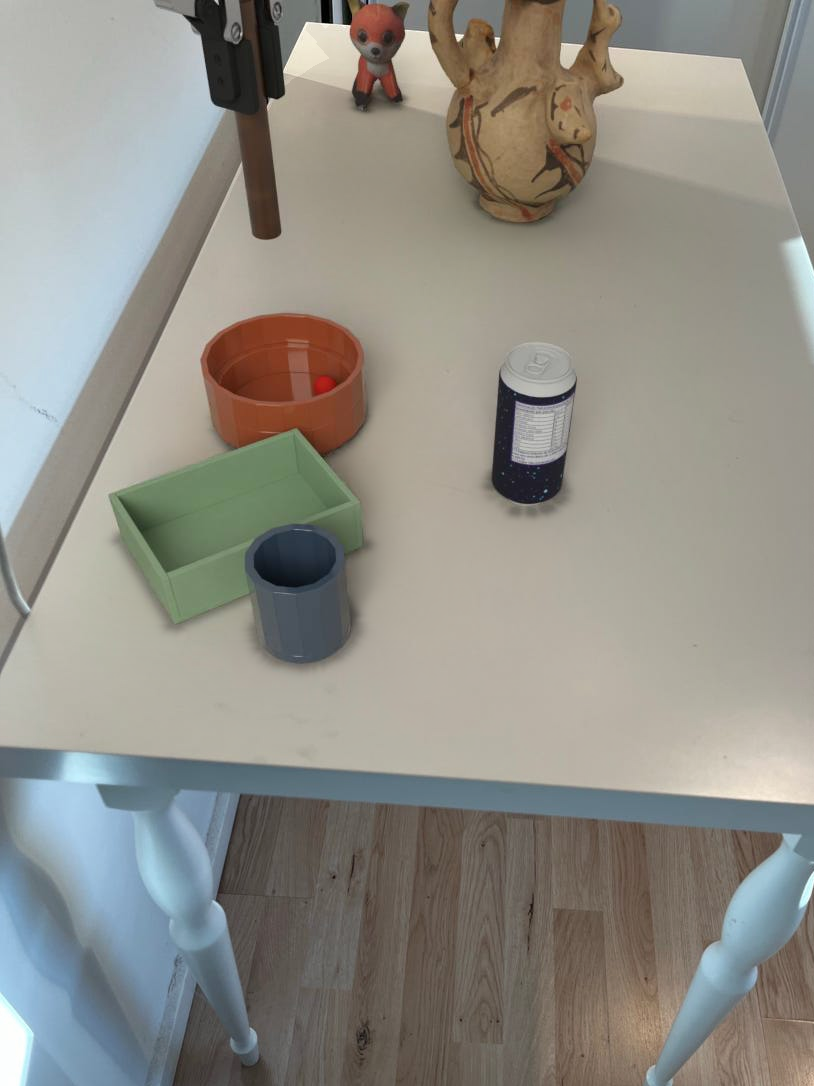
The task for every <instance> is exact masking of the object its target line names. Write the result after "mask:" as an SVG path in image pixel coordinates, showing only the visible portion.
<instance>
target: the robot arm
mask: <svg viewBox="0 0 814 1086" xmlns="http://www.w3.org/2000/svg"><path fill="white" fill-rule="evenodd" d="M254 2H255V10H256V19H257V27H258V36H259V44H260V53H261V61H262V69H263V78H264V86H265V95H266V98H269V99H273V100H280V99H282V98H283V97H285V95H286V87H285V85H286V84H285V75H284V66H283V55H282V48H281V38H280V37H281V36H280V30H279V29H280V28H279V25H277V24H279V23H280V22H281V21H282V19H283V16H284V1H283V0H254ZM153 3H154V5H155V7H156V8H157V9H160V10H164V11H168V12H172V13H174V14H175V13H176V14H180V15H182V16H183V18H185V20H186V21H187V22H188V23H189V25H190V28H191V31H192V33H193V34H194V35H197V36H200V41H201V46H202V53H203V59H204V65H205V72H206V78H207V84H208V91H209V96H210V101H211V103H212V104H213V105H214V106H216V107H218V108H221V109H226V110H229V111H233V112H235V111H236V112H240V113H244V114H247V115H253V114H255V113H257V112H258V111H259V98H258V90H257V82H256V74H255V65H254V57H253V49H252V44H251V40H248V39H244V38H242V36H243V27H242V19H241V11H240V3H239V0H217V1H216V0H153Z"/></svg>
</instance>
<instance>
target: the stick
mask: <svg viewBox="0 0 814 1086" xmlns="http://www.w3.org/2000/svg"><path fill="white" fill-rule="evenodd" d="M239 3H240V11H241V19H242V27H243V36H242V38H244V39H248V40H251V44H252V49H253V57H254V65H255V74H256V82H257V90H258V98H259V111H258V112H257V113H255V114H253V115H247V114H244V113H240V112H236V111H234V119H235V125H236V132H237V138H238V146H239V151H240V152H239V153H240V159H241V167H242V173H243V179H244V181H243V182H244V188H245V195H246V200H247V208H248V215H249V223H250V229H251V234H252V236H253V237H254V238H255V239H258V240H262V241H270V240H275V239H277V238H279V237H280V236H281V235H282V231H283V229H282V224H281V223H282V222H281V217H280V216H281V215H280V206H279V198H278V197H279V196H278V189H277V181H276V173H275V172H276V171H275V164H274V155H273V147H272V139H271V137H272V136H271V131H270V122H269V114H268V113H269V112H268V105H267V97H266V95H265V86H264V78H263V69H262V61H261V53H260V44H259V36H258V27H257V19H256V10H255V2H254V0H239Z"/></svg>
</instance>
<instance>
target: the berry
mask: <svg viewBox="0 0 814 1086" xmlns="http://www.w3.org/2000/svg"><path fill="white" fill-rule="evenodd" d="M335 387H337V384H336V382H335V380H334V379H333V378H332V377H330V376H327V375H323V376H320V377H318V378H317V379H316V380H315V382H314V391H315V393H316V395H317V396H318V395H320V394H323V393H326V392H329V391H331V390H332V389H334V388H335Z"/></svg>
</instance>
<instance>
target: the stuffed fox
mask: <svg viewBox="0 0 814 1086" xmlns="http://www.w3.org/2000/svg"><path fill="white" fill-rule="evenodd" d="M347 3H348V6H349V9H350V12H351V15H352V20H351V23H350V27H349V38H350V41H351V44H352V45H353V46H354V48H355V49H356V50H357V52H358V53H359V54H360V55H359V58H358V61H357V73H356V75H355V78H354V81H353V84H352V88H351V94H352V96H353V98H354V100H355V101H354V102H355V106H356V108H357V109H359V110H361V111H362V112H366V111H367V108H366V106H367V104H368V102H369V101H370V99H371V97H372V96H373V95H372V94H373V90H374V85H375V83H376V82H377V81H379V83H380V85H381V87H382V90H383V92H384V93H385V94H386V96H387V98H388V99H389V100H390V102H392V103H403V102H404V101H403V100H404V98H403V94H402V90H401V88H400V86H399V84H398V80H397V76H396V71H395V68H394V63H393V58H394V57H395V56H396V54H397V53H398V51H399V50H400V48H401V47H402V44H403V43H404V41H405V38H406V29H405V23H404V22H405V18H406V16H407V14H408V10H409V8H410V3H408V2H405V1H400V2H398V3H396V4H394V5H392V6H389V5H387V4H383V3H370V4H366V3H364V2H363V1H362V0H347Z"/></svg>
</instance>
